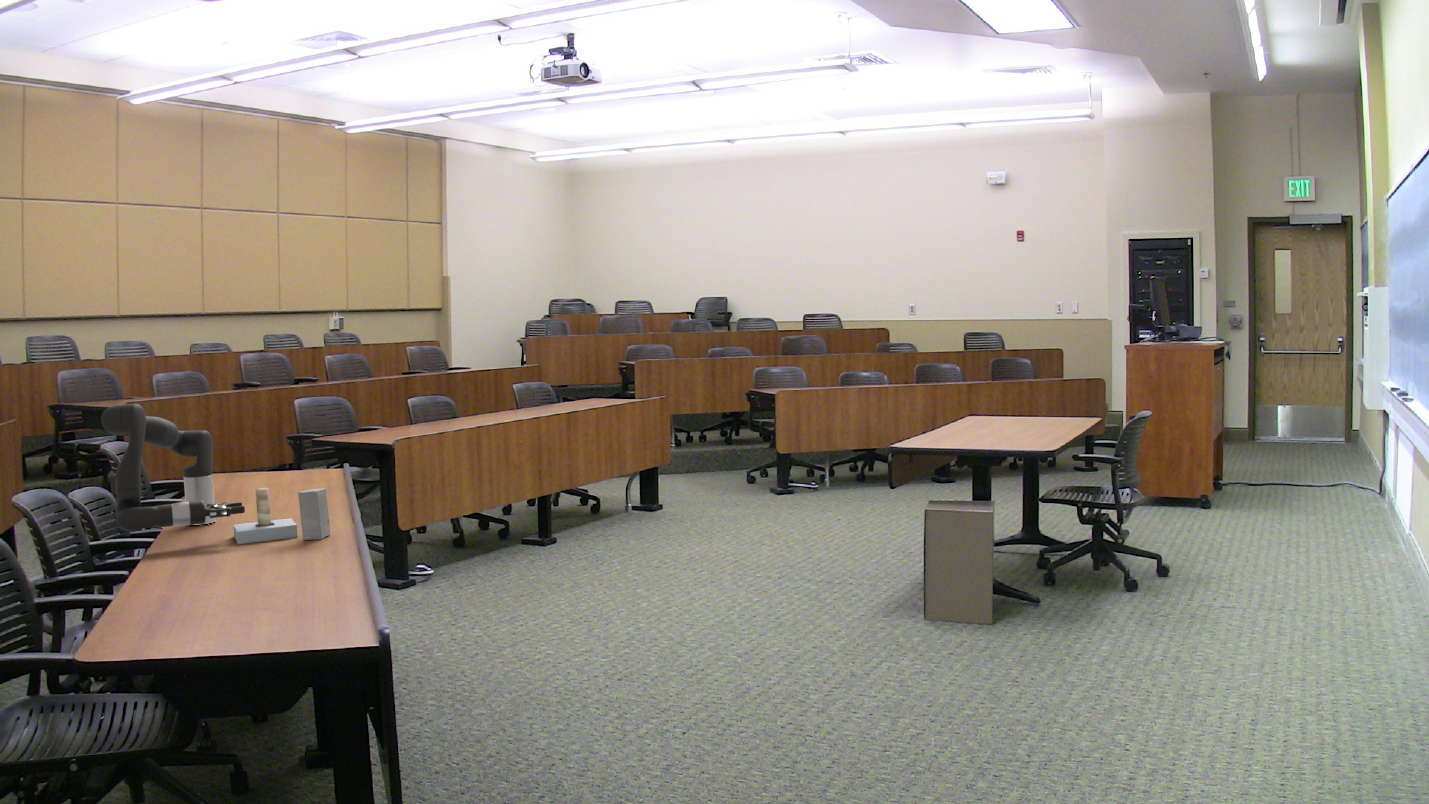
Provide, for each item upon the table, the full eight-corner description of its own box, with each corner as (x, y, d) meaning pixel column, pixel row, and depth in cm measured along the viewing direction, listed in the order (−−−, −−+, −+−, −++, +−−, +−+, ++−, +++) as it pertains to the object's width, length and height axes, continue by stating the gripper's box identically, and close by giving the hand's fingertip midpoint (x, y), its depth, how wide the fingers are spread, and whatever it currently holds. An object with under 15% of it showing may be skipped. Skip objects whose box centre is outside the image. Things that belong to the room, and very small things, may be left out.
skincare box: (321, 540, 347) (318, 491, 345) (299, 540, 347) (296, 492, 345) (331, 534, 355) (328, 487, 354) (310, 535, 355) (307, 487, 354)
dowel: (258, 536, 356) (254, 488, 354) (271, 535, 358) (268, 487, 356) (259, 538, 352) (256, 490, 351) (272, 537, 354) (269, 489, 353)
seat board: (234, 536, 357) (233, 524, 356) (291, 529, 365) (291, 518, 365) (237, 544, 344) (237, 531, 344) (297, 536, 353) (296, 524, 353)
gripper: (188, 504, 337) (244, 499, 345) (186, 498, 349) (240, 493, 357) (190, 528, 337) (246, 522, 345) (187, 521, 350) (241, 515, 358)
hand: (243, 507), depth 351 cm, fingers open, 8 cm apart
